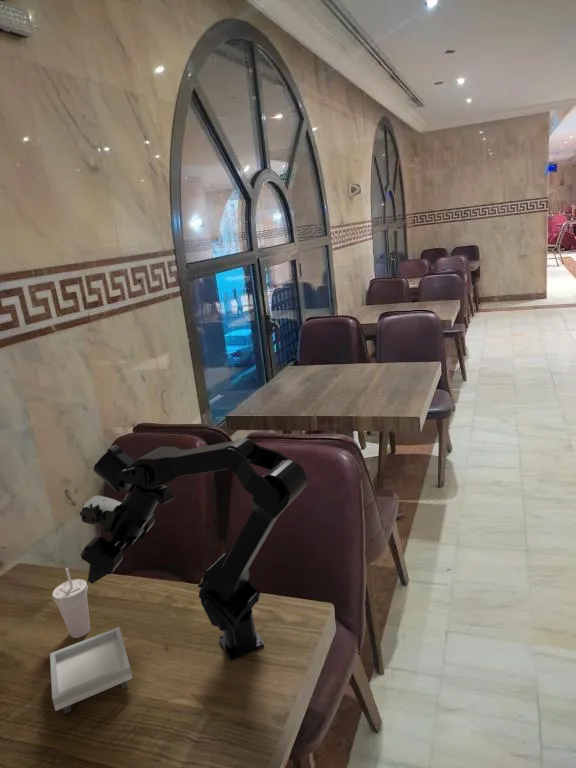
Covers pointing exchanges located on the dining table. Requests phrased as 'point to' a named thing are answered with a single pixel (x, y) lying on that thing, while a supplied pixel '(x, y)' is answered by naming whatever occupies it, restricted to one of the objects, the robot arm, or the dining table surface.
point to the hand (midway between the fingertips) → (102, 568)
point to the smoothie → (73, 605)
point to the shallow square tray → (88, 668)
